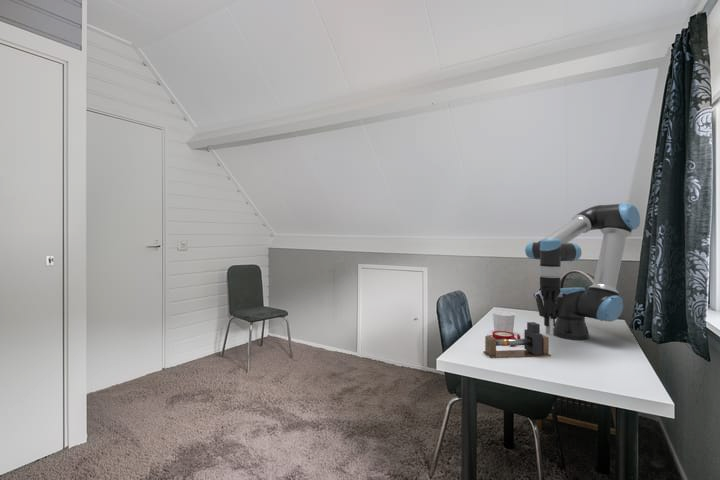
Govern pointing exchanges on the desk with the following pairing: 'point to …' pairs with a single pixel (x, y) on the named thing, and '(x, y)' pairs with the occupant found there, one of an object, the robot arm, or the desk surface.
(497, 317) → the cup
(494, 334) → the alarm clock
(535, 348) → the dark grey stepped block
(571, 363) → the desk surface
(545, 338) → the rail
